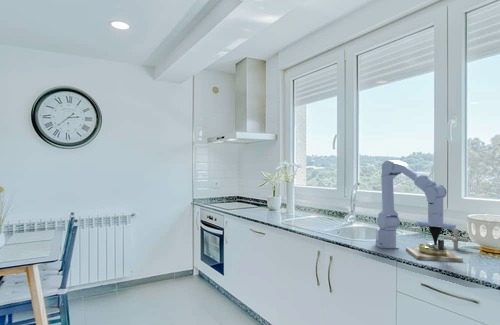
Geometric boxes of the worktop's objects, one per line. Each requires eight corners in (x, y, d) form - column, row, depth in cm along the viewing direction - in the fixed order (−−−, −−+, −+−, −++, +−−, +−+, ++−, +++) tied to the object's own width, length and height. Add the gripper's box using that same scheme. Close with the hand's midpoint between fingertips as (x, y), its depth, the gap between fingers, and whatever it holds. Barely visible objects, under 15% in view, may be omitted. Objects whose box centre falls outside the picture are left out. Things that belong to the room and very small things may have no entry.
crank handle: (415, 248, 150) (415, 232, 150) (440, 249, 148) (440, 233, 148) (428, 257, 134) (428, 240, 135) (456, 259, 133) (456, 241, 133)
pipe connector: (445, 245, 163) (445, 226, 164) (468, 248, 157) (468, 228, 157) (442, 249, 156) (442, 229, 156) (466, 252, 149) (466, 231, 150)
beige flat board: (417, 259, 137) (417, 255, 137) (405, 250, 153) (405, 246, 153) (462, 262, 134) (462, 258, 134) (446, 252, 150) (446, 248, 150)
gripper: (415, 212, 137) (415, 243, 137) (455, 215, 128) (455, 249, 128) (417, 210, 143) (417, 241, 142) (456, 213, 134) (456, 245, 134)
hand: (435, 244), depth 136 cm, fingers closed
